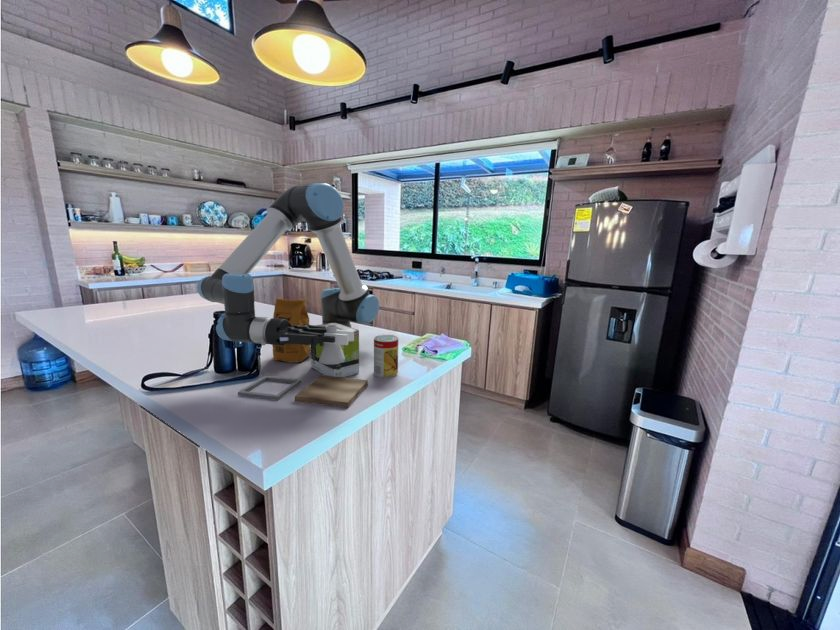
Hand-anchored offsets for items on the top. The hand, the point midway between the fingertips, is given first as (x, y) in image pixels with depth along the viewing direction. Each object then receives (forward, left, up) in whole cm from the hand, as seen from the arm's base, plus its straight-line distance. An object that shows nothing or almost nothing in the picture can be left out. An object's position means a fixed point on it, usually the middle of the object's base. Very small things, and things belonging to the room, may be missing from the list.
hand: (350, 338), depth 89 cm
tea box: (-16, -12, -17) cm, 26 cm away
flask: (0, -5, -7) cm, 9 cm away
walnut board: (0, -5, -16) cm, 17 cm away
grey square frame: (+2, -23, -16) cm, 29 cm away
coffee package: (-23, -32, -17) cm, 43 cm away
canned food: (-18, +5, -17) cm, 25 cm away
